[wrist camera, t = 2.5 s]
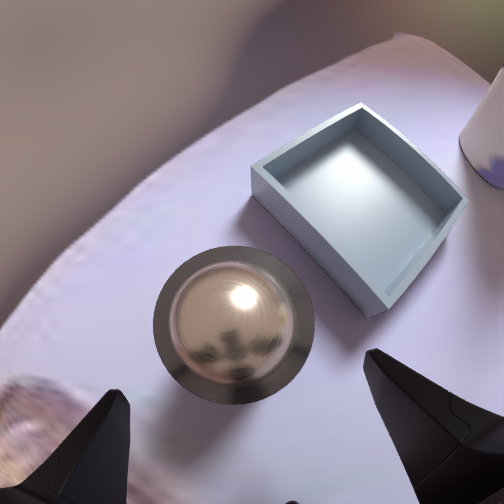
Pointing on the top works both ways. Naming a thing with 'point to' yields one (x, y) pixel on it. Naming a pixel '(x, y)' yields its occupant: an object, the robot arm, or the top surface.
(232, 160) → the top surface
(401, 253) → the bin
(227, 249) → the metallic can
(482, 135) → the container
